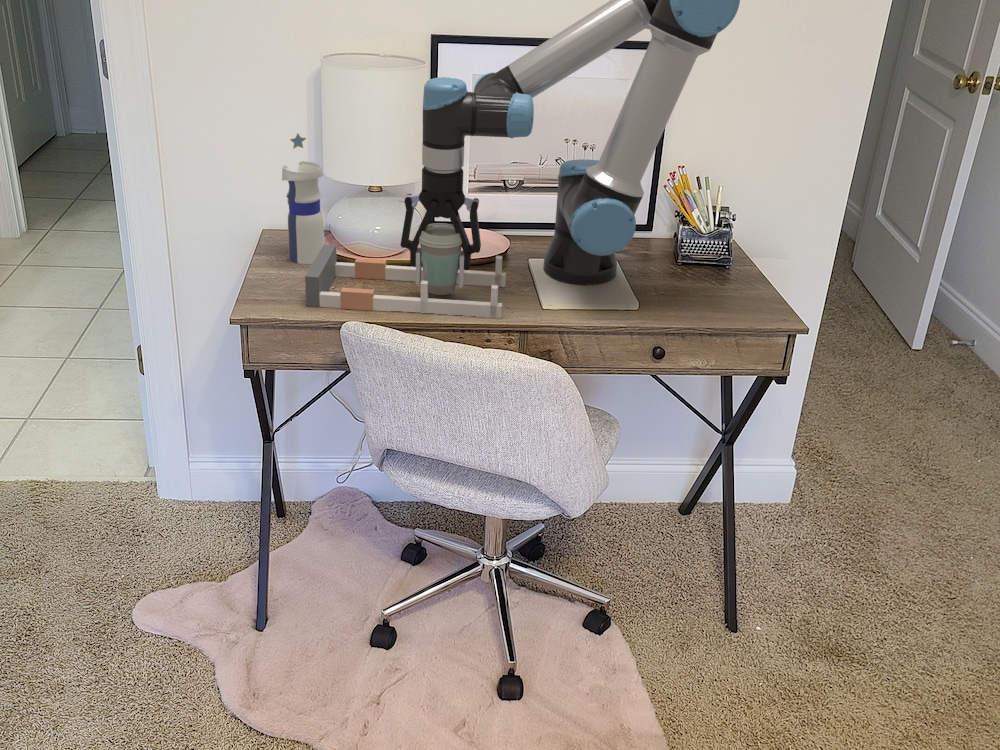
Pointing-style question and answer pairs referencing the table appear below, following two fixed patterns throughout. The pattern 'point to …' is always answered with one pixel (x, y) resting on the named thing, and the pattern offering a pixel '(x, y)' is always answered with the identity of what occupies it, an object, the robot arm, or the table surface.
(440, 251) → the coffee cup
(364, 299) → the comb channel
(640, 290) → the table surface
